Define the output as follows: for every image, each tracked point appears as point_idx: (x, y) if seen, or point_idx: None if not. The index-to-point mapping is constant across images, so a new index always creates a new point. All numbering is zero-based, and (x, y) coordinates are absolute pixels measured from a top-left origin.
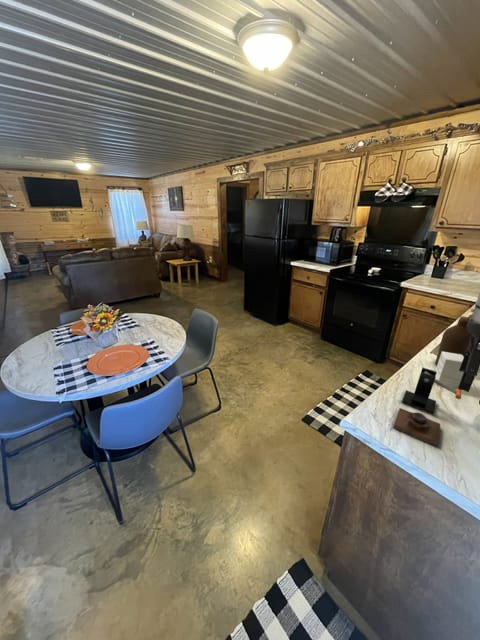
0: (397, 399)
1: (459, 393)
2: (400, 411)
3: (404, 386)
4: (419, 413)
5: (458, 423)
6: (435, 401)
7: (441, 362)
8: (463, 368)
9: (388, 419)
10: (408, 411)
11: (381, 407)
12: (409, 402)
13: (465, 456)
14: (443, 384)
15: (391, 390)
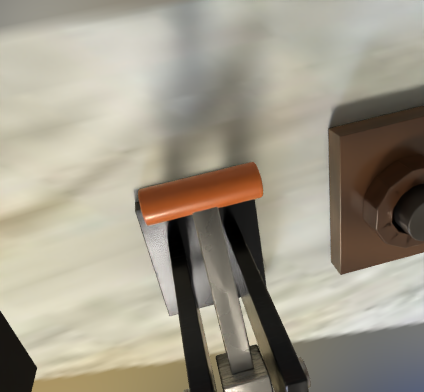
0: None
1: (229, 193)
2: (364, 263)
3: (117, 328)
4: (412, 227)
5: (221, 73)
6: None
7: None
8: (13, 389)
9: (403, 259)
10: (343, 247)
11: (348, 301)
12: (260, 270)
13: None
14: (236, 300)
15: None
